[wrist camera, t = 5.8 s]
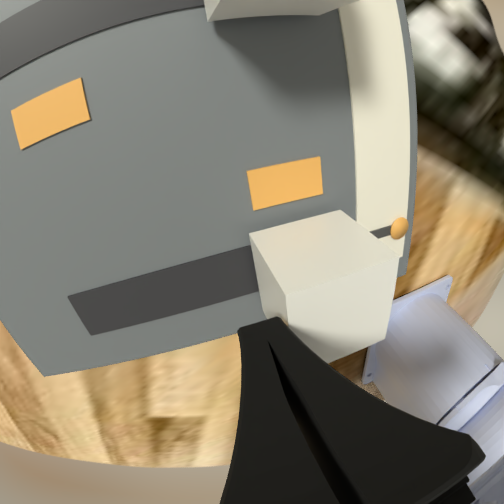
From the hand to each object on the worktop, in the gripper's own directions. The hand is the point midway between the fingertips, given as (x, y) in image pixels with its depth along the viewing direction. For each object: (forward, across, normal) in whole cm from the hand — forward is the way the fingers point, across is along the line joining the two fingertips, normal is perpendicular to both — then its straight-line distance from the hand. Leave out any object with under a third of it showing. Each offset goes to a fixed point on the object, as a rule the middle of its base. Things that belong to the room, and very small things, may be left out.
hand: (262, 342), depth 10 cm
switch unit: (+6, +1, -6) cm, 8 cm away
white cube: (+4, -3, 0) cm, 5 cm away
